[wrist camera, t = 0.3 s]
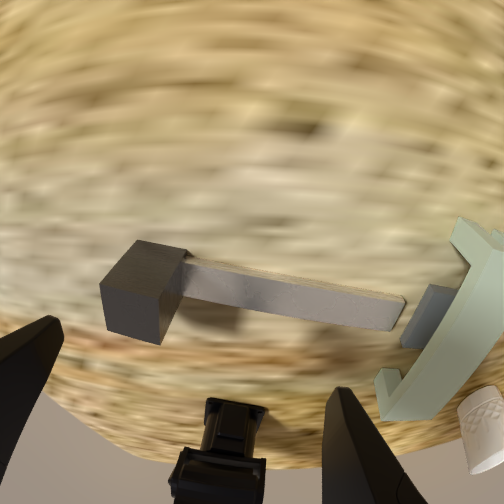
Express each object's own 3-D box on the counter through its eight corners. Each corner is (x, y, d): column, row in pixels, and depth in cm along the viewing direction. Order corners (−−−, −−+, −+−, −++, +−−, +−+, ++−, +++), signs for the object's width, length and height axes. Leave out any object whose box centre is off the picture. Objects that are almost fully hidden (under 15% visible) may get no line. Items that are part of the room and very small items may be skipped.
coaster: (446, 340, 25) (452, 351, 24) (398, 335, 25) (402, 347, 24) (476, 290, 22) (484, 301, 21) (427, 280, 22) (434, 292, 21)
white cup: (451, 400, 29) (471, 465, 20) (503, 372, 27) (529, 433, 18) (453, 422, 32) (468, 479, 23) (498, 399, 29) (518, 453, 21)
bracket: (420, 382, 27) (431, 419, 23) (373, 380, 28) (381, 421, 23) (507, 234, 19) (541, 265, 14) (458, 216, 19) (493, 248, 14)
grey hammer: (385, 328, 24) (401, 382, 19) (138, 282, 24) (107, 330, 19) (404, 290, 22) (428, 343, 17) (137, 239, 22) (99, 283, 17)
